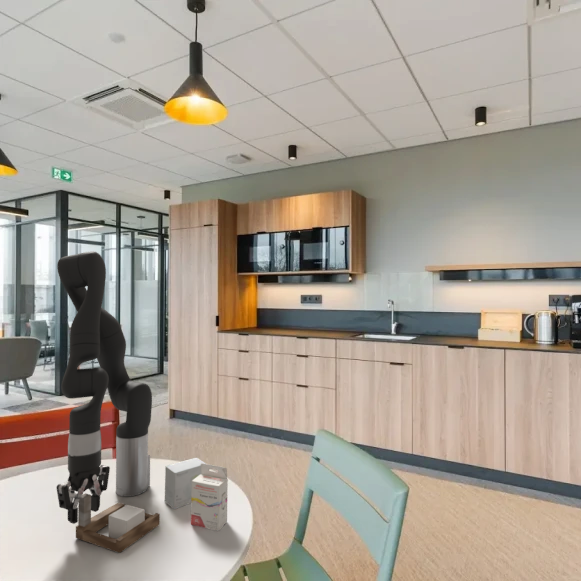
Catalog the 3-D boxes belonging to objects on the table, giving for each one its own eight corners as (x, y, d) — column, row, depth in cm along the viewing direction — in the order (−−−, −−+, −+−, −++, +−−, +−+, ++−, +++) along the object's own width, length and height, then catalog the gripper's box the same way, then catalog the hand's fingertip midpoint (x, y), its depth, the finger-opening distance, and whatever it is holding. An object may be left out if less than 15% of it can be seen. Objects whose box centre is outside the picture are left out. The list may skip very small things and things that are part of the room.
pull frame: (118, 512, 117) (118, 476, 117) (159, 524, 111) (159, 487, 111) (75, 537, 105) (76, 497, 105) (119, 552, 98) (120, 510, 99)
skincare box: (174, 510, 119) (174, 472, 119) (164, 501, 124) (164, 465, 124) (206, 498, 126) (207, 462, 126) (195, 490, 131) (196, 456, 131)
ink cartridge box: (189, 525, 111) (190, 469, 111) (199, 516, 116) (200, 462, 116) (219, 531, 108) (219, 473, 108) (228, 522, 113) (228, 466, 113)
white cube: (108, 540, 104) (108, 515, 104) (126, 527, 110) (127, 504, 110) (126, 546, 102) (126, 520, 102) (144, 533, 107) (144, 509, 107)
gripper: (97, 437, 114) (97, 500, 114) (47, 456, 101) (47, 527, 101) (118, 441, 111) (117, 506, 111) (69, 461, 98) (69, 534, 98)
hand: (84, 516), depth 106 cm, fingers open, 5 cm apart
